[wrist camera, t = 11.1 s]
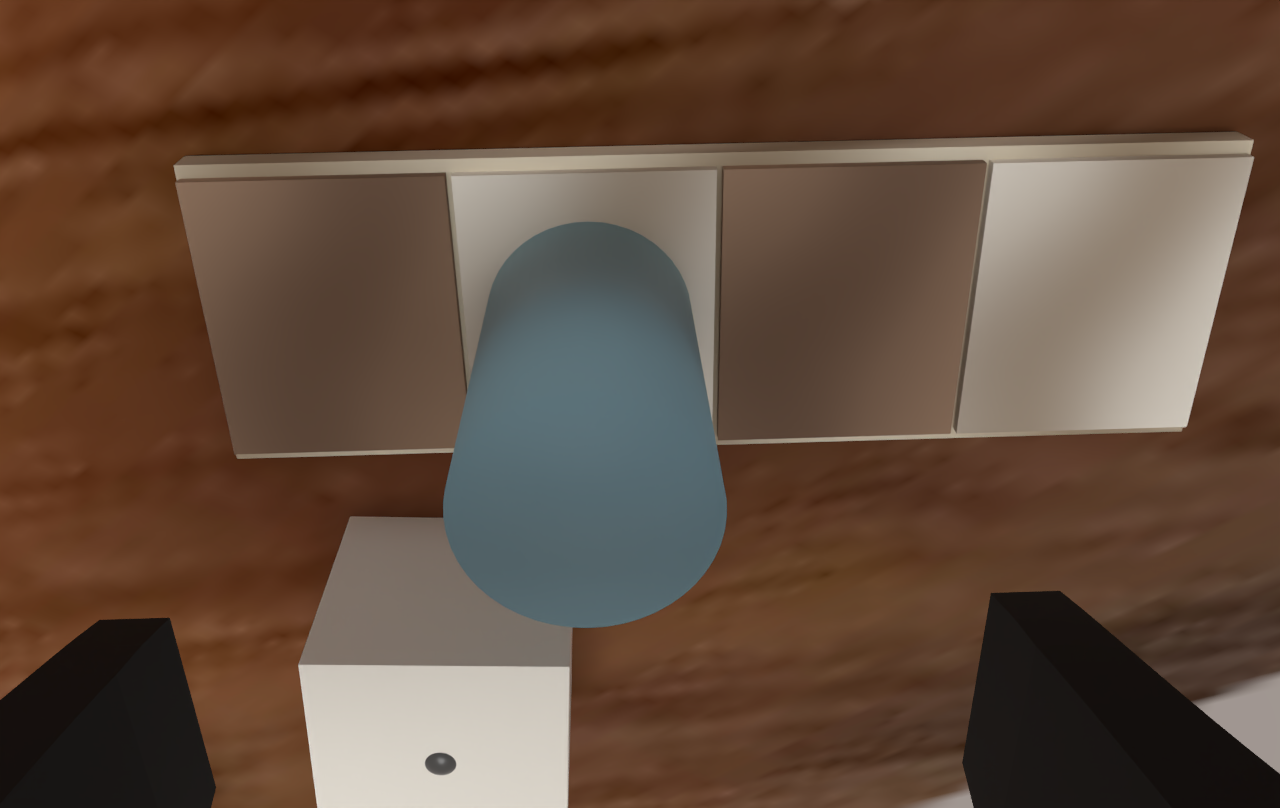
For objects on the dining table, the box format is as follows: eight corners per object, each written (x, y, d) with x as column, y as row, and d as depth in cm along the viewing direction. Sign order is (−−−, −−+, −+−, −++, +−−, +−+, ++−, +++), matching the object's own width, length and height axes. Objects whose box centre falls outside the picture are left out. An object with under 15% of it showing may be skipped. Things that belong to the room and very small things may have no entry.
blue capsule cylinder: (707, 235, 17) (750, 407, 12) (674, 419, 18) (701, 639, 13) (495, 208, 16) (451, 375, 12) (479, 397, 18) (436, 615, 13)
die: (573, 517, 20) (569, 671, 16) (571, 689, 22) (566, 861, 18) (345, 513, 20) (289, 669, 16) (362, 687, 22) (316, 861, 18)
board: (1236, 131, 17) (1260, 143, 16) (1168, 417, 19) (1187, 437, 19) (184, 156, 17) (169, 168, 16) (245, 443, 19) (233, 464, 18)
